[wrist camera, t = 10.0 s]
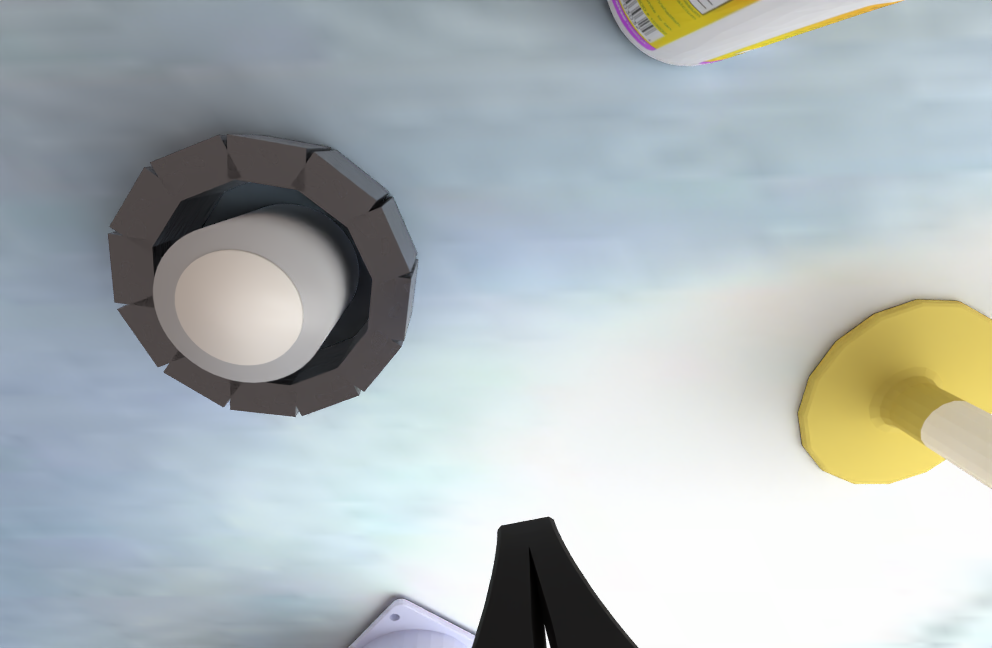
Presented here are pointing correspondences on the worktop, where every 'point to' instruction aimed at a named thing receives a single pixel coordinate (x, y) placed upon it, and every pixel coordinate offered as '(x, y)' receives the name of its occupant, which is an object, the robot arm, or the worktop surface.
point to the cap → (256, 291)
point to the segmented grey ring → (186, 206)
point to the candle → (903, 396)
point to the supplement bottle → (724, 24)
